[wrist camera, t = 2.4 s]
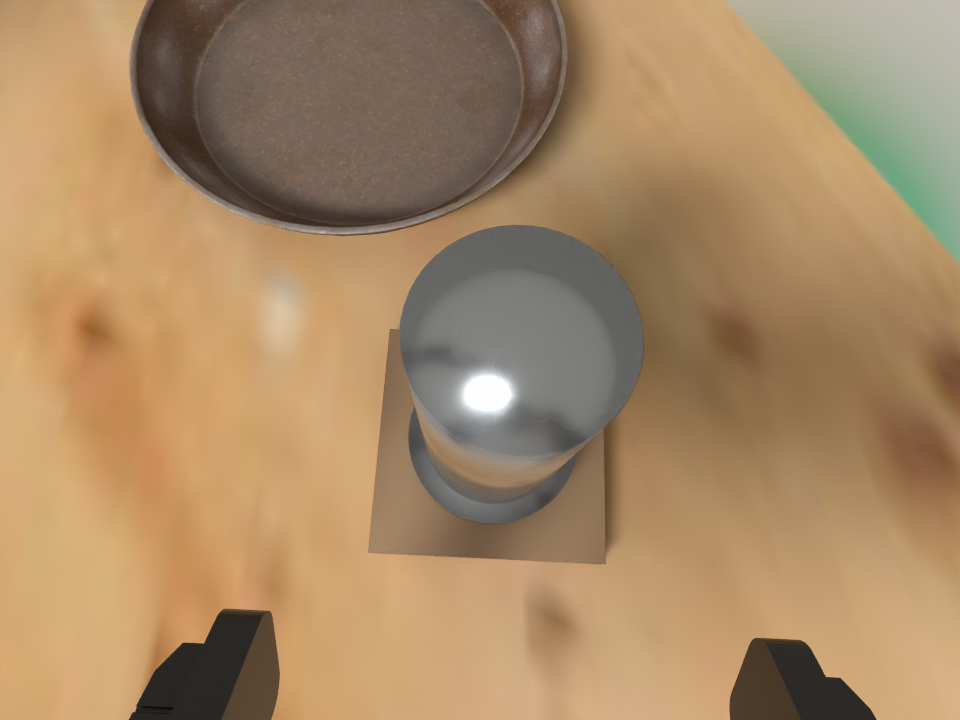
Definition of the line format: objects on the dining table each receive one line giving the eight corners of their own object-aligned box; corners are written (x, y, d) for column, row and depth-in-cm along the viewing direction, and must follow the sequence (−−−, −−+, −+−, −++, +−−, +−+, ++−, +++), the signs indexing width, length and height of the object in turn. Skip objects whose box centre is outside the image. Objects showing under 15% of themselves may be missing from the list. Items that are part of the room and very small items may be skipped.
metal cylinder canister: (384, 488, 22) (314, 420, 11) (446, 340, 23) (436, 162, 13) (542, 550, 21) (625, 539, 11) (593, 395, 23) (708, 255, 12)
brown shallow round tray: (162, -38, 30) (130, -102, 27) (522, -68, 32) (528, -131, 29) (160, 295, 25) (120, 260, 22) (592, 243, 26) (609, 203, 23)
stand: (372, 552, 22) (368, 552, 21) (392, 338, 24) (390, 329, 23) (599, 563, 22) (605, 563, 21) (596, 349, 24) (602, 340, 24)
